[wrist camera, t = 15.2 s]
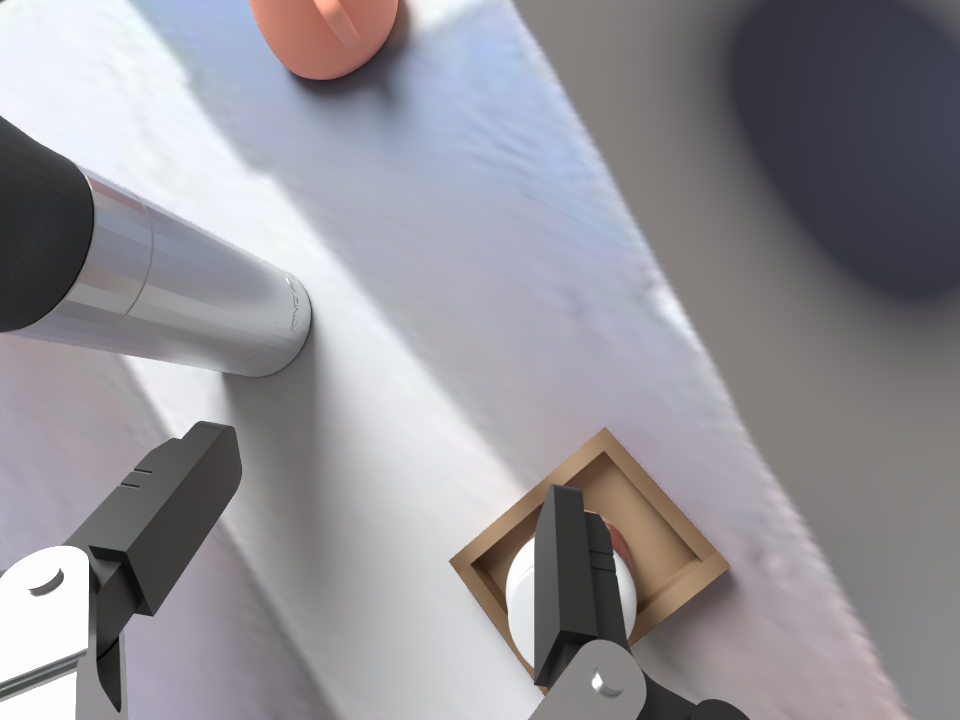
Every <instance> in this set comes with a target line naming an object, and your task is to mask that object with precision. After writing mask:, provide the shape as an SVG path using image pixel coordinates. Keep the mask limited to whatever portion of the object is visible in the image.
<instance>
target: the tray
mask: <svg viewBox="0 0 960 720" xmlns="http://www.w3.org/2000/svg"><path fill="white" fill-rule="evenodd" d="M551 484H556V485H562V486H568V487H573V488H579V489H581V491H582V494H583V503H584V510H588V511H592V512H594V513H597V514H600V515H601V516H603V517H604V518H606V519H607V520H609V521H610V522H611V523H612V524H613V525H614V526H615V527H616V528H617V529H618V530H619V531H620V533H621V534H622V536H623V537H624V539H625V541H626V543H627V545H628V547H629V550H630V554H631V558H632V564H633V573H634V580H635V588H636V599H637V605H636V617H635V622H634V626H633V629H632V632H631V634H630V636H629V638H628V640H627V641H628V645H629V647H631V646H632V645H633V644H634V643H636V642H637V641H638V640H639V639H641V638H642V637H643V636H644V635H646V634H647V633H648V632H649V631H651V630H652V629H653V628H654V627H656V626H657V625H658V624H659V623H661V622H662V621H663V620H664V619H666V618H667V617H668V616H669V615H671V614H672V613H673V612H674V611H676V610H677V609H678V608H679V607H681V606H682V605H683V604H684V603H686V602H687V601H688V600H689V599H691V598H692V597H693V596H694V595H696V594H697V593H698V592H699V591H701V590H702V589H703V588H704V587H706V586H707V585H708V584H709V583H711V582H712V581H713V580H714V579H716V578H717V577H718V576H719V575H721V574H722V573H723V572H724V571H726V570H727V569H728V568H729V567H731V566H730V564H729V563H728V562H727V561H726V560H725V559H724V558H723V557H722V556H721V555H720V553H719V552H718V551H717V550H716V549H715V548H714V547H713V546H712V545H711V543H710V542H709V541H708V540H707V539H706V538H705V537H704V536H703V535H702V534H701V532H700V531H699V530H698V529H697V528H696V527H695V526H694V525H693V524H692V523H691V521H690V520H689V519H688V518H687V517H686V516H685V515H684V514H683V513H682V511H681V510H680V509H679V508H678V507H677V506H676V505H675V504H674V503H673V502H672V500H671V499H670V498H669V497H668V496H667V495H666V494H665V493H664V492H663V491H662V489H661V488H660V487H659V486H658V485H657V484H656V483H655V482H654V481H653V479H652V478H651V477H650V476H649V475H648V474H647V473H646V472H645V471H644V470H643V468H642V467H641V466H640V465H639V464H638V463H637V462H636V461H635V460H634V458H633V457H632V456H631V455H630V454H629V453H628V452H627V451H626V450H625V449H624V447H623V446H622V445H621V444H620V443H619V442H618V441H617V440H616V439H615V438H614V436H613V435H612V434H611V433H610V432H609V431H608V430H607V429H606V428H605V427H604V428H603V429H602V430H601V431H600V432H598V433H597V434H596V435H595V436H594V437H593V438H591V439H590V440H589V441H588V442H587V443H586V444H584V445H583V446H582V447H581V448H580V449H579V450H577V451H576V452H575V453H574V454H573V455H572V456H570V457H569V458H568V459H567V460H566V461H565V462H563V463H562V464H561V465H560V466H559V467H558V468H557V469H555V470H554V471H553V472H552V473H551V474H550V475H548V476H547V477H546V478H545V479H544V480H543V481H541V482H540V483H539V484H538V485H537V486H536V487H534V488H533V489H532V490H531V491H530V492H529V493H527V494H526V495H525V496H524V497H523V498H522V499H520V500H519V501H518V502H517V503H516V504H515V505H513V506H512V507H511V508H510V509H509V510H508V511H506V512H505V513H504V514H503V515H502V516H501V517H499V518H498V519H497V520H496V521H495V522H494V523H492V524H491V525H490V526H489V527H488V528H487V529H485V530H484V531H483V532H482V533H481V534H480V535H478V536H477V537H476V538H475V539H474V540H473V541H471V542H470V543H469V544H468V545H467V546H466V547H464V548H463V549H462V550H461V551H460V552H459V553H457V554H456V555H455V556H454V557H453V558H452V559H450V560H449V562H450V564H451V565H452V566H453V568H454V569H455V571H456V572H457V573H458V575H459V576H460V578H461V579H462V580H463V582H464V583H465V585H466V586H467V587H468V589H469V590H470V592H471V593H472V594H473V596H474V597H475V599H476V600H477V601H478V603H479V604H480V606H481V607H482V609H483V610H484V611H485V613H486V614H487V616H488V617H489V618H490V620H491V621H492V623H493V624H494V625H495V627H496V628H497V630H498V631H499V632H500V634H501V635H502V637H503V638H504V639H505V641H506V642H507V644H508V645H509V646H510V648H511V649H512V651H513V652H514V653H515V655H516V656H517V658H518V659H519V660H520V662H521V663H522V665H523V666H524V667H525V669H526V670H527V672H528V673H529V675H530V676H531V677H532V679H533V680H534V668H533V667H532V666H531V665H530V664H529V663H528V662H527V661H526V660H525V659H524V658H523V657H522V655H521V654H520V652H519V651H518V649H517V647H516V645H515V643H514V641H513V639H512V636H511V632H510V628H509V621H508V609H507V603H506V582H507V577H508V573H509V570H510V567H511V565H512V563H513V561H514V559H515V557H516V556H517V554H518V553H519V551H520V550H521V549H522V547H523V546H524V545H525V544H526V543H527V541H528V540H529V539H530V538H531V537H532V536H533V535H534V533H535V532H536V526H537V522H538V519H539V516H540V513H541V510H542V507H543V504H544V501H545V498H546V495H547V492H548V489H549V487H550V485H551ZM538 687H539V689H540V690H541V691H542V693H543V694H544V696H546V695H547V694H548V687H543V686H538Z"/></svg>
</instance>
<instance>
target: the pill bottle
mask: <svg viewBox="0 0 960 720" xmlns="http://www.w3.org/2000/svg"><path fill="white" fill-rule="evenodd" d="M584 512H589V513H594V512H592V511H588V510H584ZM595 514H597V513H595ZM600 516H601V515H600ZM601 518H602V520H603V521H604V523H605V525H606V527H607V528H608V530H609V532H610V534H611V540H612V546H613V553H614V555H613V558H614V559H615V565H616V575H617V578H618V585H619V591H620V598H621V604H622V611H623V617H624V623H625V630H626V636H627V640H628V638H629V636H630V634H631V632H632V629H633V626H634V622H635V617H636V605H637V599H636V588H635V580H634V573H633V564H632V558H631V554H630V550H629V547H628V545H627V543H626V541H625V539H624V537H623V536H622V534H621V533H620V531H619V530H618V529H617V528H616V527H615V526H614V525H613V524H612V523H611V522H610V521H609V520H607V519H606V518H604V517H603V516H601ZM534 540H535V533H534V535H533V536H532V537H531V538H530V539H529V540H528V541H527V543H526V544H525V545H524V546H523V547H522V549H521V550H520V551H519V553H518V554H517V556H516V557H515V559H514V561H513V563H512V565H511V567H510V570H509V573H508V577H507V582H506V603H507V609H508V621H509V628H510V632H511V636H512V639H513V641H514V643H515V645H516V647H517V649H518V651H519V652H520V654H521V655H522V657H523V658H524V659H525V660H526V661H527V662H528V663H529V664H530V665H531V666H532V667H533V668H534Z"/></svg>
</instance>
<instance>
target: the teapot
mask: <svg viewBox="0 0 960 720" xmlns="http://www.w3.org/2000/svg"><path fill="white" fill-rule="evenodd" d="M249 3H250V6H251V10H252V12H253V15H254V18H255V20H256V22H257V25H258V27H259V29H260V31H261V33H262V35H263V36H264V38H265V40H266V42H267V44H268V45H269V47H270V48H271V50H272V51H273V53H274V54H275V55H276V57H277V58H278V59H279V60H280V62H281V63H282V64H283V65H284V66H285V67H286V68H288V69H289V70H290V71H292V72H293V73H295V74H297V75H299V76H301V77H304V78H308V79H316V80H329V79H335V78H339V77H342V76H344V75H347V74H349V73H351V72H353V71H355V70H356V69H358V68H360V67H361V66H362V65H364V64H365V63H366V62H368V61H369V60H370V59H371V58H372V57H373V56H374V55H375V54H376V53H377V52H378V50H379V49H380V48H381V47H382V45H383V44H384V42H385V41H386V39H387V38H388V36H389V34H390V32H391V29H392V27H393V24H394V21H395V17H396V13H397V7H398V0H249Z"/></svg>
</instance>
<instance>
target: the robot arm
mask: <svg viewBox="0 0 960 720" xmlns="http://www.w3.org/2000/svg"><path fill="white" fill-rule="evenodd" d="M310 322H311V308H310V303H309V298H308V296H307V293H306V291H305V289H304V287H303V286H302V285H301V283H300V282H299V281H298V280H297V279H296V278H295V277H294V276H292V275H291V274H290V273H288V272H286V271H284V270H282V269H280V268H278V267H276V266H274V265H272V264H270V263H268V262H267V261H265V260H263V259H261V258H259V257H257V256H255V255H254V254H252V253H250V252H248V251H246V250H244V249H242V248H240V247H238V246H236V245H234V244H232V243H230V242H229V241H227V240H225V239H223V238H221V237H219V236H217V235H215V234H213V233H211V232H209V231H207V230H205V229H203V228H202V227H200V226H198V225H196V224H194V223H192V222H190V221H188V220H186V219H184V218H182V217H180V216H178V215H176V214H175V213H173V212H171V211H169V210H167V209H165V208H163V207H161V206H159V205H157V204H155V203H153V202H151V201H149V200H148V199H146V198H144V197H142V196H140V195H138V194H136V193H134V192H132V191H130V190H128V189H126V188H124V187H122V186H120V185H118V184H116V183H114V182H112V181H110V180H108V179H107V178H105V177H103V176H101V175H99V174H97V173H95V172H93V171H91V170H89V169H87V168H85V167H83V166H81V165H79V164H78V163H76V162H74V161H72V160H70V159H68V158H66V157H64V156H62V155H60V154H58V153H56V152H54V151H52V150H51V149H49V148H47V147H45V146H43V145H41V144H40V143H38V142H37V141H35V140H34V139H32V138H31V137H29V136H28V135H26V134H25V133H24V132H22V131H21V130H20V129H18V128H17V127H15V126H14V125H13V124H11V123H10V122H8V121H7V120H6V119H4V118H3V117H1V116H0V333H4V334H9V335H15V336H21V337H27V338H32V339H38V340H44V341H49V342H55V343H62V344H68V345H74V346H79V347H85V348H91V349H96V350H102V351H108V352H114V353H119V354H125V355H131V356H136V357H142V358H148V359H153V360H159V361H165V362H170V363H176V364H182V365H187V366H193V367H199V368H204V369H209V370H214V371H220V372H226V373H231V374H237V375H243V376H249V377H263V376H267V375H271V374H273V373H275V372H277V371H280V370H281V369H283V368H284V367H285V366H287V365H288V364H289V363H290V362H291V361H292V360H293V359H294V358H295V357H296V356H297V354H298V353H299V351H300V350H301V348H302V346H303V345H304V343H305V340H306V338H307V335H308V332H309V327H310ZM241 476H242V465H241V459H240V454H239V448H238V442H237V437H236V432H235V429H234V427H232V426H228V425H223V424H217V423H211V422H206V421H199V422H197V423H196V424H195V425H194V426H193V427H192V428H191V429H190V430H189V431H188V432H187V434H186V435H185V436H184V437H183V438H182V439H176V438H172V439H170V440H168V441H167V442H165V443H163V444H162V445H160V446H158V447H157V448H155V449H153V450H152V451H150V452H149V453H148V454H147V455H146V456H145V458H144V459H143V460H142V461H141V462H140V463H139V464H138V465H137V466H136V467H135V468H134V471H133V472H130V474H129V475H128V476H127V477H126V478H125V479H124V480H123V481H122V482H121V485H120V486H117V487H116V489H115V490H114V491H113V492H112V493H111V494H110V495H109V496H108V497H107V498H106V499H105V500H104V501H103V502H102V503H101V505H100V506H99V507H98V508H97V509H96V510H95V511H94V512H93V513H92V514H91V515H90V516H89V517H88V518H87V520H86V521H85V522H84V523H83V524H82V525H81V526H80V527H79V528H78V529H77V530H76V531H75V532H74V533H73V534H72V536H71V537H70V538H69V539H68V540H67V541H66V542H65V543H64V544H62V545H61V546H59V547H53V548H48V549H45V550H42V551H39V552H36V553H34V554H32V555H30V556H28V557H26V558H25V559H23V560H21V561H20V562H18V563H17V564H15V565H14V566H13V567H12V568H11V569H8V570H2V571H0V720H129V717H128V698H127V675H126V652H125V633H124V629H123V628H124V627H125V625H126V624H127V622H128V621H129V619H130V618H131V617H132V615H133V614H134V613H135V614H141V615H147V616H152V617H154V615H155V614H156V612H157V611H158V609H159V608H160V606H161V605H162V603H163V601H164V600H165V598H166V597H167V595H168V594H169V592H170V591H171V589H172V588H173V586H174V585H175V583H176V582H177V580H178V579H179V577H180V576H181V574H182V573H183V571H184V570H185V568H186V567H187V565H188V564H189V562H190V561H191V559H192V558H193V556H194V555H195V553H196V552H197V550H198V549H199V547H200V546H201V544H202V542H203V541H204V539H205V538H206V536H207V535H208V533H209V532H210V530H211V529H212V527H213V526H214V524H215V523H216V521H217V520H218V518H219V517H220V515H221V514H222V512H223V511H224V509H225V508H226V506H227V505H228V503H229V502H230V500H231V499H232V497H233V496H234V494H235V492H236V491H237V489H238V486H239V484H240V480H241ZM613 555H614V553H613V546H612V540H611V534H610V532H609V530H608V528H607V527H606V525H605V523H604V521H603V520H602V518H601V516H600V514H595V513H589V512H584V503H583V494H582V491H581V489H579V488H573V487H568V486H562V485H556V484H551V485H550V487H549V489H548V492H547V495H546V498H545V501H544V504H543V507H542V510H541V513H540V516H539V519H538V522H537V526H536V532H535V540H534V685H537V686H543V687H548V694H547V695H546V696H545V698H544V699H543V700H542V702H541V703H540V704H539V706H538V707H537V709H536V710H535V711H534V713H533V714H532V715H531V717H530V718H529V719H528V720H750V719H749V718H748V717H747V716H746V715H745V714H744V713H742V712H741V711H740V710H739V709H737V708H736V707H734V706H733V705H731V704H729V703H727V702H724V701H721V700H716V699H708V700H705V701H702V702H701V703H699V704H698V705H695V704H693V703H691V702H689V701H688V700H686V699H684V698H682V697H680V696H678V695H677V694H675V693H673V692H671V691H669V690H667V689H665V688H664V687H662V686H660V685H659V684H657V683H656V682H654V681H653V680H652V679H651V678H649V677H648V676H647V675H646V674H645V673H644V671H643V670H642V669H641V668H640V667H639V665H638V663H637V662H636V660H635V659H634V657H633V655H632V653H631V651H630V648H629V645H628V641H627V636H626V630H625V623H624V617H623V611H622V604H621V598H620V591H619V585H618V578H617V575H616V565H615V559H614V558H613Z"/></svg>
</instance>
